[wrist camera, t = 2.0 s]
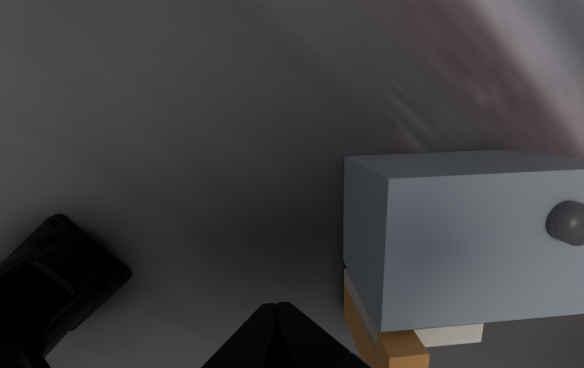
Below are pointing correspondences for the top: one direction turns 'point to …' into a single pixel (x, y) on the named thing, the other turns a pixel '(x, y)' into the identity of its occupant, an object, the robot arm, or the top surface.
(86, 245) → the robot arm
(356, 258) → the grey knobbed box
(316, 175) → the top surface
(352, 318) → the side door
